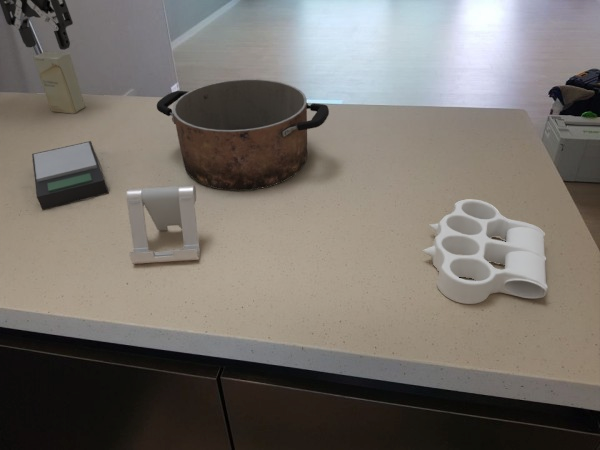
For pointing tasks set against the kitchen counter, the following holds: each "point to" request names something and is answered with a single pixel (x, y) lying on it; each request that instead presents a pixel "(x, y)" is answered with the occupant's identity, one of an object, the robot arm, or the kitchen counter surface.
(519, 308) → the kitchen counter surface
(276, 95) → the cooking pot
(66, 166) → the scale
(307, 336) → the kitchen counter surface
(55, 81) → the cosmetic box
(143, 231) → the tablet stand
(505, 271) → the white brass knuckles
